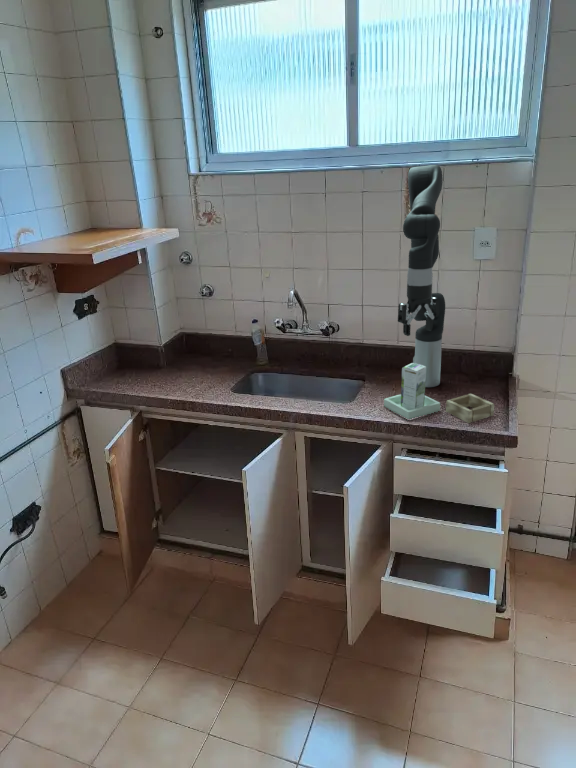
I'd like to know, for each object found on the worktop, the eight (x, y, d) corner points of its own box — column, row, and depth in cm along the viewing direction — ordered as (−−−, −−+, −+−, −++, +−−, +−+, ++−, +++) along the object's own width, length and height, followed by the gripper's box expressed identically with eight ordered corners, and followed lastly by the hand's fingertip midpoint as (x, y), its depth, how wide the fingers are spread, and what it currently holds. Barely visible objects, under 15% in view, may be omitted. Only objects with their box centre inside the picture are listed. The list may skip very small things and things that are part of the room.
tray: (383, 407, 196) (384, 398, 195) (414, 398, 202) (414, 390, 201) (408, 420, 186) (408, 412, 184) (440, 411, 191) (440, 402, 190)
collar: (445, 411, 190) (446, 400, 189) (469, 404, 195) (470, 393, 193) (468, 423, 182) (469, 411, 180) (493, 415, 186) (494, 403, 184)
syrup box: (409, 402, 197) (410, 362, 192) (424, 406, 194) (426, 365, 188) (400, 407, 194) (401, 367, 188) (415, 412, 190) (417, 370, 184)
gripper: (429, 276, 184) (427, 326, 190) (393, 283, 178) (392, 334, 184) (446, 280, 178) (443, 331, 184) (408, 287, 172) (407, 340, 178)
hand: (417, 332), depth 184 cm, fingers open, 8 cm apart
